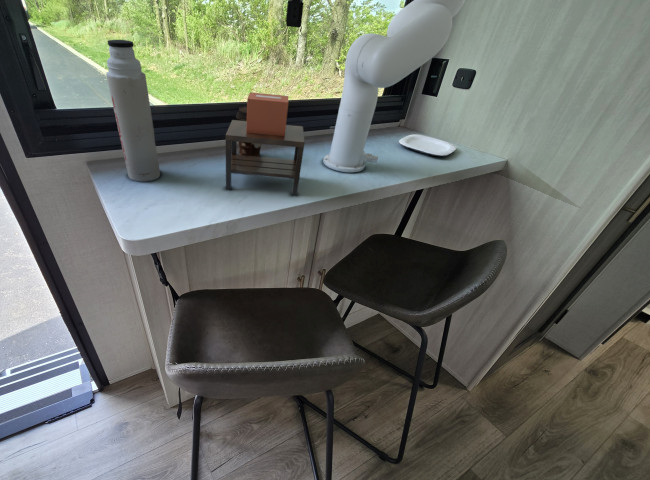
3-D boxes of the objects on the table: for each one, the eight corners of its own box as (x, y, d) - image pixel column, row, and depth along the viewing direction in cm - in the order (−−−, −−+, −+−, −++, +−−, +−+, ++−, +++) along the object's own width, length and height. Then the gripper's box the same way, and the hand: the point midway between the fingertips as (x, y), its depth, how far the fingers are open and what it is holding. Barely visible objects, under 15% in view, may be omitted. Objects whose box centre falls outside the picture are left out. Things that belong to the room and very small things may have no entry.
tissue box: (248, 124, 80) (249, 91, 75) (284, 128, 80) (288, 95, 75) (246, 132, 75) (247, 98, 70) (284, 136, 75) (288, 101, 70)
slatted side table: (295, 176, 91) (302, 126, 82) (296, 195, 82) (304, 142, 73) (232, 170, 91) (232, 119, 82) (226, 189, 82) (225, 134, 73)
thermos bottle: (125, 181, 81) (93, 41, 62) (131, 168, 87) (104, 36, 68) (157, 182, 82) (136, 44, 63) (162, 169, 88) (143, 39, 69)
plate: (459, 150, 118) (461, 145, 117) (442, 162, 107) (444, 157, 106) (412, 136, 126) (413, 132, 125) (392, 146, 116) (393, 141, 114)
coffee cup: (265, 152, 102) (268, 107, 94) (262, 162, 96) (265, 114, 87) (237, 150, 103) (238, 103, 94) (233, 159, 97) (233, 111, 88)
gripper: (328, -99, 55) (311, 29, 67) (320, -82, 68) (307, 24, 79) (284, -103, 55) (275, 26, 67) (284, -85, 68) (277, 21, 79)
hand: (293, 25), depth 73 cm, fingers open, 9 cm apart
